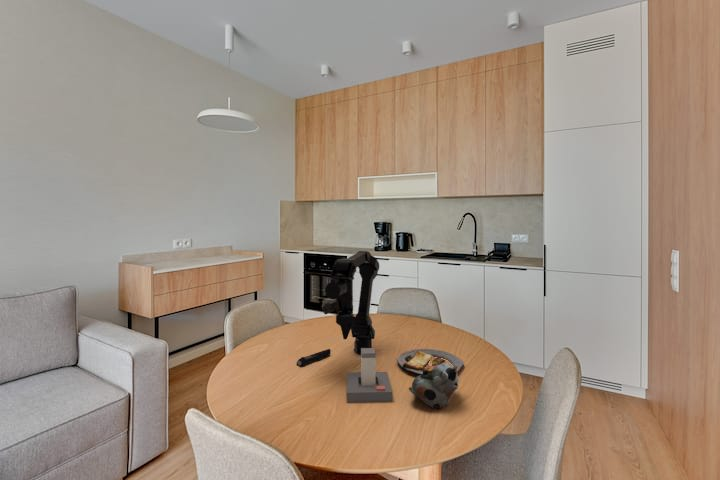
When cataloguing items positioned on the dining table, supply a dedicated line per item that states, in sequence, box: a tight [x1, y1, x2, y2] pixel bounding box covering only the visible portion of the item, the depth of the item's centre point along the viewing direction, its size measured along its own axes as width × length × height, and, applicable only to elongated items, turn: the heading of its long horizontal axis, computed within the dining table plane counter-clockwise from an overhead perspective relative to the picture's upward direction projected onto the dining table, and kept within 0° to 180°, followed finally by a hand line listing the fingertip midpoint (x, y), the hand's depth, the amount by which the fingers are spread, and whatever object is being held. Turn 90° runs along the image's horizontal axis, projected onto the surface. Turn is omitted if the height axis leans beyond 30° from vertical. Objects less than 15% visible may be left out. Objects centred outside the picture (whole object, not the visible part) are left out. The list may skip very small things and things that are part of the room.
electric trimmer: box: [296, 348, 332, 368], centre depth 135 cm, size 4×16×3 cm, turn 135°
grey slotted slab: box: [346, 371, 393, 403], centre depth 111 cm, size 14×14×4 cm
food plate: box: [396, 348, 465, 376], centre depth 130 cm, size 25×23×4 cm
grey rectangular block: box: [360, 347, 377, 386], centre depth 111 cm, size 4×4×12 cm
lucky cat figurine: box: [408, 362, 460, 410], centre depth 105 cm, size 15×12×14 cm
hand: (345, 334), depth 127 cm, fingers open, 9 cm apart
